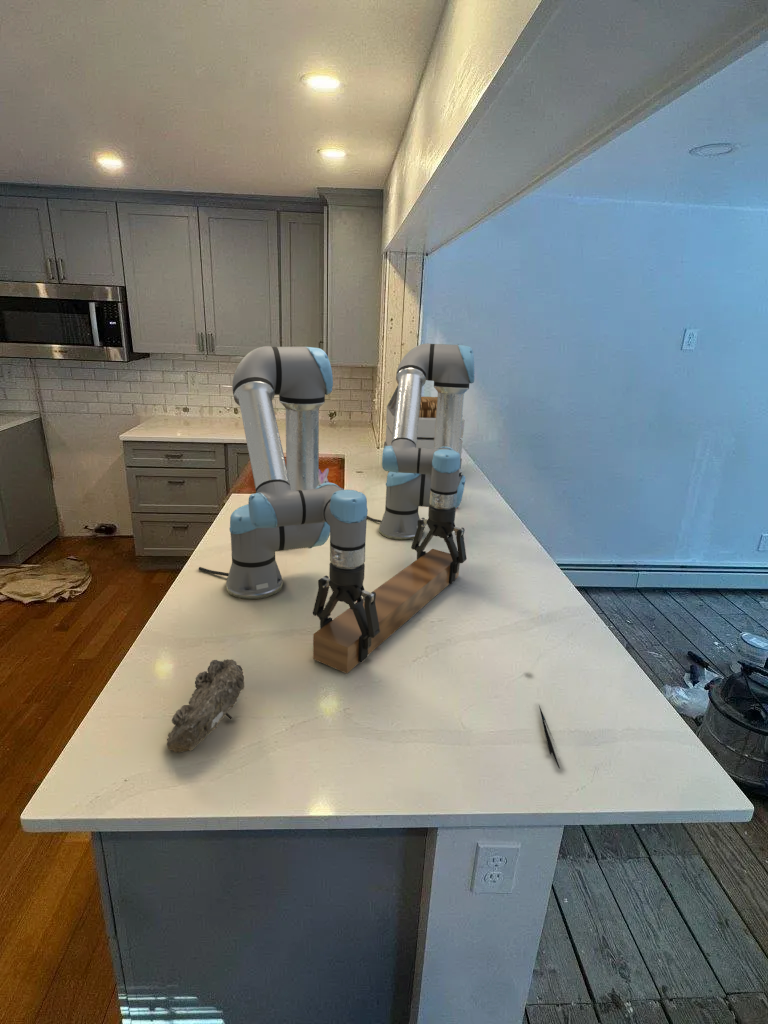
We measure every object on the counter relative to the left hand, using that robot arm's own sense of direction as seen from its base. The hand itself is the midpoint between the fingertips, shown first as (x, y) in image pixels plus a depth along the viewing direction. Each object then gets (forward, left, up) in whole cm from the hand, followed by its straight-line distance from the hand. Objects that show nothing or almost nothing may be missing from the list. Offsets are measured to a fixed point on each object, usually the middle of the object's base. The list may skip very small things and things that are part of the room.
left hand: (344, 651), depth 129 cm
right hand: (-14, +44, 0) cm, 47 cm away
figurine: (-87, +55, -1) cm, 103 cm away
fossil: (+1, -32, -1) cm, 32 cm away
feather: (+40, +18, -1) cm, 44 cm away
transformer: (-100, +121, -1) cm, 157 cm away
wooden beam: (-7, +22, -1) cm, 23 cm away
